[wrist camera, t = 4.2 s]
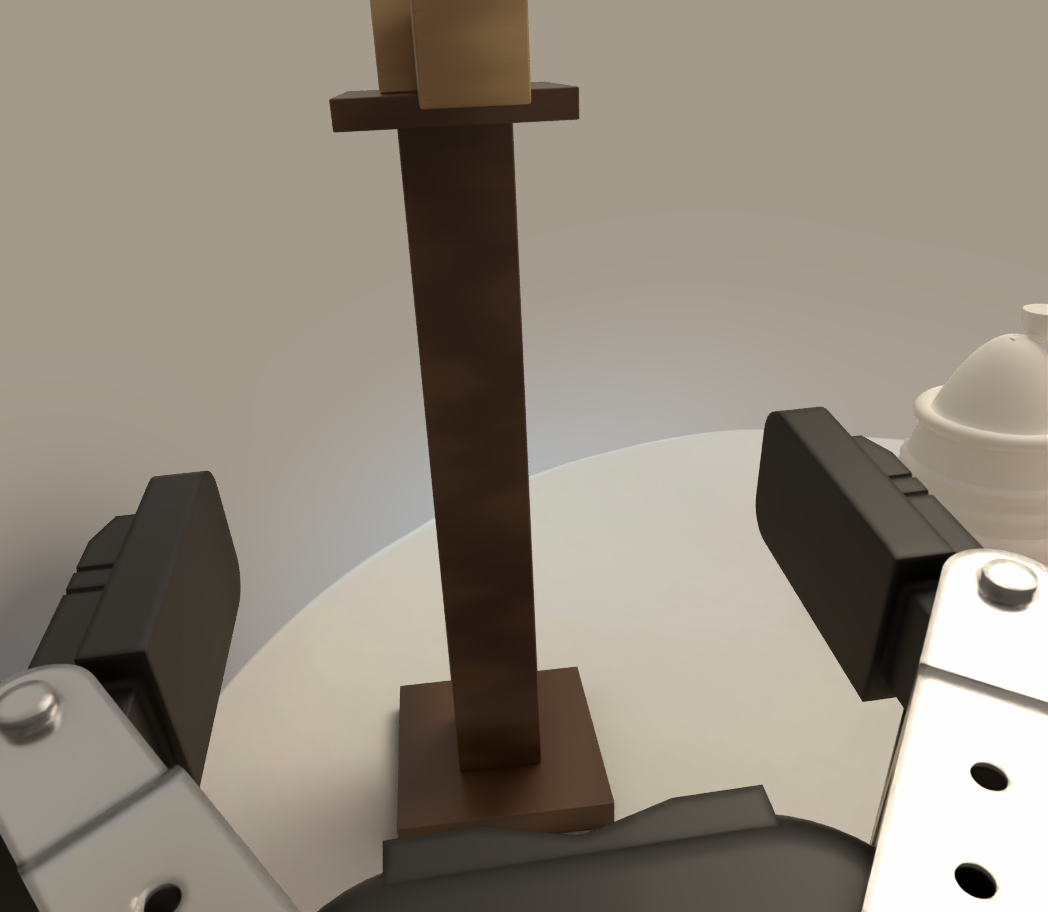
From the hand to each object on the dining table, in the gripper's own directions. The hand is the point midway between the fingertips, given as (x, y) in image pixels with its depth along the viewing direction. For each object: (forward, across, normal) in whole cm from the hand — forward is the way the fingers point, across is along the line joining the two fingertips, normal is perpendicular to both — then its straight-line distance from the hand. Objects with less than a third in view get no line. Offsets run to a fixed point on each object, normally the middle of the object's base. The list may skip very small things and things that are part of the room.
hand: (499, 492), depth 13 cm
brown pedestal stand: (+19, 0, +30) cm, 35 cm away
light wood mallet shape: (+18, -1, -3) cm, 18 cm away
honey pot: (+30, -34, +32) cm, 55 cm away
